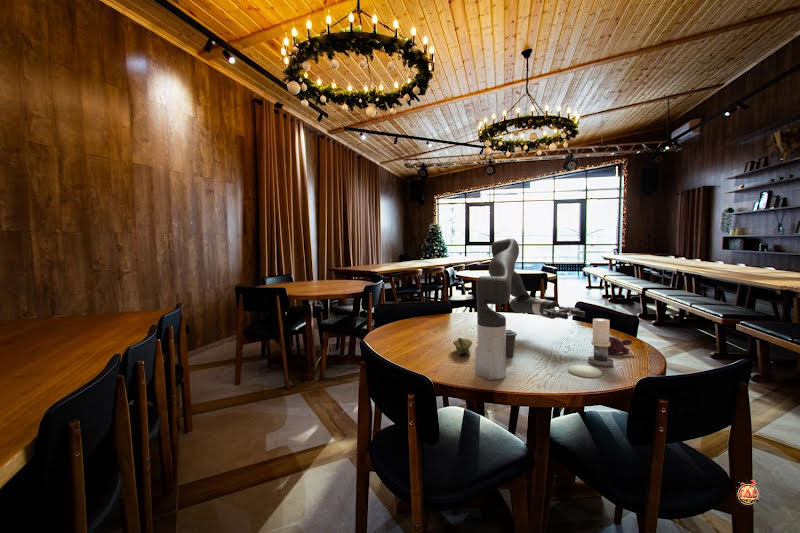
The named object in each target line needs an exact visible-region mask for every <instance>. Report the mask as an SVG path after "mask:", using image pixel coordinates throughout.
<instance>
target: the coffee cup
mask: <svg viewBox="0 0 800 533" xmlns="http://www.w3.org/2000/svg"><path fill="white" fill-rule="evenodd" d="M517 335H518V334H517V332H516V331H512V330H510V329H506V359H512V358H514V352H515V346H516V345H515V344H516V339H517V338H516V337H517Z"/></svg>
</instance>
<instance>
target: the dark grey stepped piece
mask: <svg viewBox="0 0 800 533" xmlns="http://www.w3.org/2000/svg"><path fill="white" fill-rule="evenodd" d="M608 355H609V353H608V347H599V346H595V345H593V355H590V356H588V357H587V363H588V364H589V365H590V366H593V367H594V366H595V367H598V368H613V367H614V360H613V359H612V358H609V356H608Z"/></svg>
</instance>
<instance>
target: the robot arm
mask: <svg viewBox="0 0 800 533" xmlns="http://www.w3.org/2000/svg"><path fill="white" fill-rule="evenodd" d="M490 247H491V249H490V250H491V254H492V259H491V261H490V263H489V264H488V265H489V266H488V274H489V275H490V276H485V275H484V276H483V275H481V276H479V277H478V278H477V280H476V286H475V287H476V289H475V292H476V295H475V296H476V310H477V311H476V312H477V313H476V314H477V315H476V317H477V318H476V320H477V321H476V322H477V336H476V338H477V339H476V340H477V345H476V347H475V349H474V350H475V358H474V359H475V363H474V364H475V368H474V369H475V371H474V372H475V376H477V377H480V378H482V379H485V380H488V381H491V380H495V381H496V380H502V379H505V378H506V376H507V374H506V373H507V364H506V363H507V358H506V330H507V318H506V316H505V315H503V314H502V313H500V312H496V311H494V310H493V309H491V307H489V305H506V304H507V303H508V302H509V301H510V298H511V296H512V297H514V298H513V299H511V301H510V302H509V305H510V306H509V307H510V309H511V310H512V311H513V312H514V313H517V314H529V313H531V314H535V315H537V316H540V317H544V318H547V319H551V320H554V319H564V320H568V319H569V317H571V316H575V317H579V318H585V317H586V312H585V311H582V310H581V309H580V308H577V307H571V306H567V307H565V306H561V305H560V303H559V302H557V301H555V300H554V301H553V300H549V299H545V298H544V299H542V298H536V297H532V296H531V295H530V294H529V292H528V291H527V290H526V287H525V285H524V283H523V279H522V278H521V277H522V276H520V274H519V273H518V272H517V271H515V268H516V267H515V266H516V262H517V260H518V258H519V255H520V247H519V244H518V242H517V240H516V239H514V238H505V239H501V240H500V239H499V240H497V241H494V242H492V243H491V246H490Z"/></svg>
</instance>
